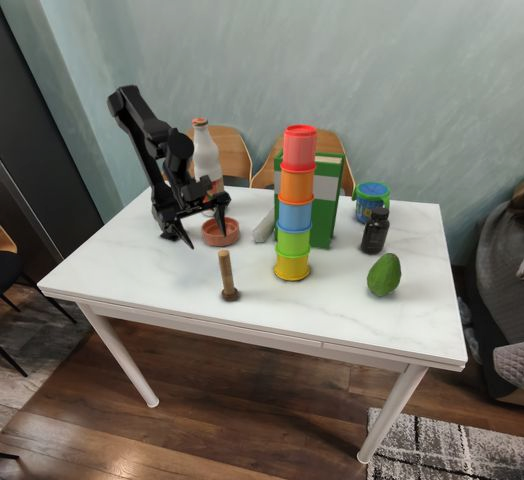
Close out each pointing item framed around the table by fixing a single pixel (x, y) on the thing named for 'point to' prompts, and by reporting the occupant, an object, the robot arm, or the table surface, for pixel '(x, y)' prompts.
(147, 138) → the robot arm
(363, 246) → the supplement bottle
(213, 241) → the bowl
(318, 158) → the hardback book
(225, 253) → the muddler
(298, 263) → the stacking cups
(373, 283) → the avocado
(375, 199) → the snack cup
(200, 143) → the fruit juice
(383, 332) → the table surface
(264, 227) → the tube
